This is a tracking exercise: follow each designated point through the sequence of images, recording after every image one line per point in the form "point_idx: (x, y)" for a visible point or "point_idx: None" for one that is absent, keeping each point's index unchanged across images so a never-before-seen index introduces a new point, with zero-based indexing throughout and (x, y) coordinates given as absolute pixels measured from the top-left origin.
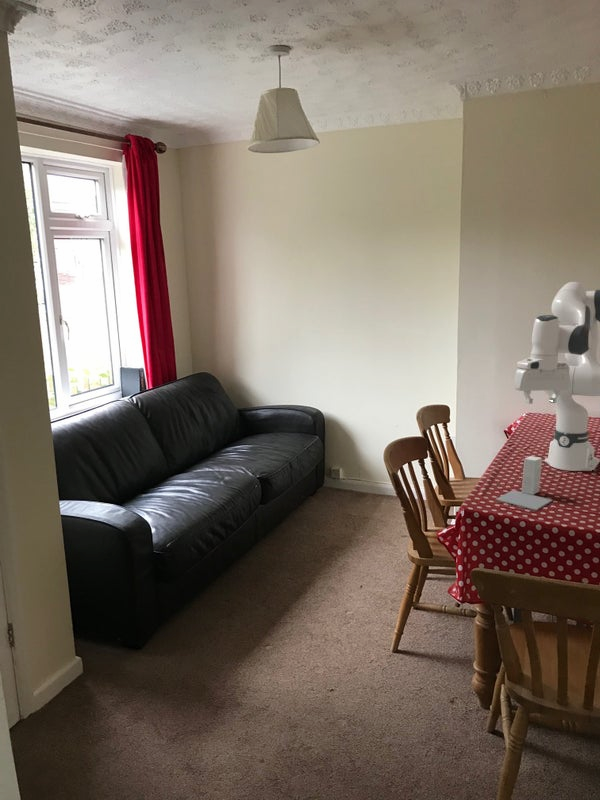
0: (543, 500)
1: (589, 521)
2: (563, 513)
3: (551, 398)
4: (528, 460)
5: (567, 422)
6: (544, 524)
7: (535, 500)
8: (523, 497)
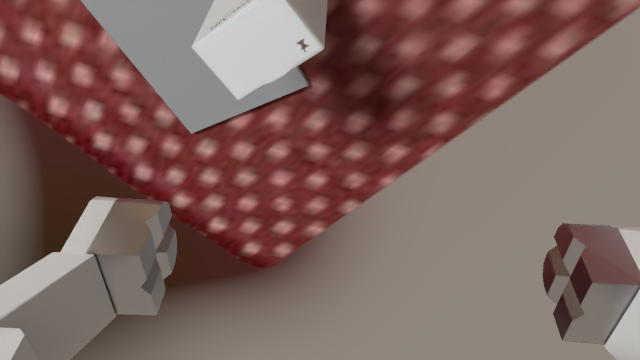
0: None
1: (305, 232)
2: (271, 172)
3: (582, 302)
4: (209, 64)
5: None
6: None
7: None
8: None
